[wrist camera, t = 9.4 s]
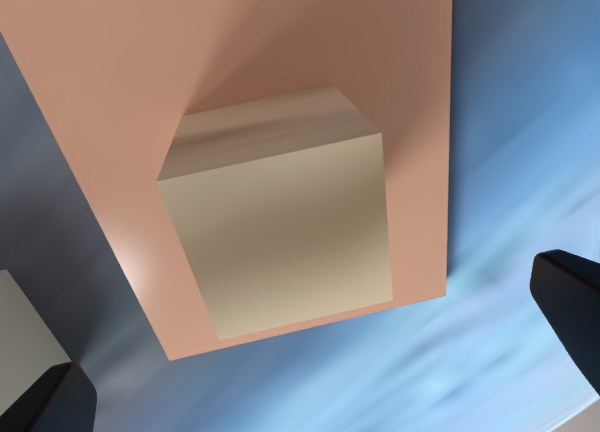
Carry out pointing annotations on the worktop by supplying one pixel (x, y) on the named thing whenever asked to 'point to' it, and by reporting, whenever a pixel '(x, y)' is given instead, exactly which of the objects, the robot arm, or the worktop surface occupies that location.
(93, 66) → the terracotta tile
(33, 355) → the sage block
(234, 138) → the beech block
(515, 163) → the worktop surface
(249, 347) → the worktop surface
